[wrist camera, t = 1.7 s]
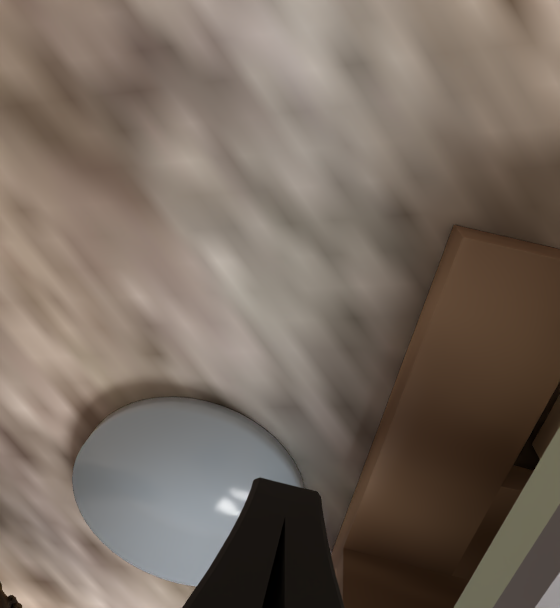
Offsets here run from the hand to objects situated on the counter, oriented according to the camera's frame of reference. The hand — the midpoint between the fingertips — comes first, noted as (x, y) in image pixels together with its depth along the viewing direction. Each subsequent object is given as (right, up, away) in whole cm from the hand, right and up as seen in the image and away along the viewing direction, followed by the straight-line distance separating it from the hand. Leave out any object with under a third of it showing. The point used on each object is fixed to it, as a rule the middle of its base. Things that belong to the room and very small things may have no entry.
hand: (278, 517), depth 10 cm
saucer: (-3, -3, +9) cm, 10 cm away
